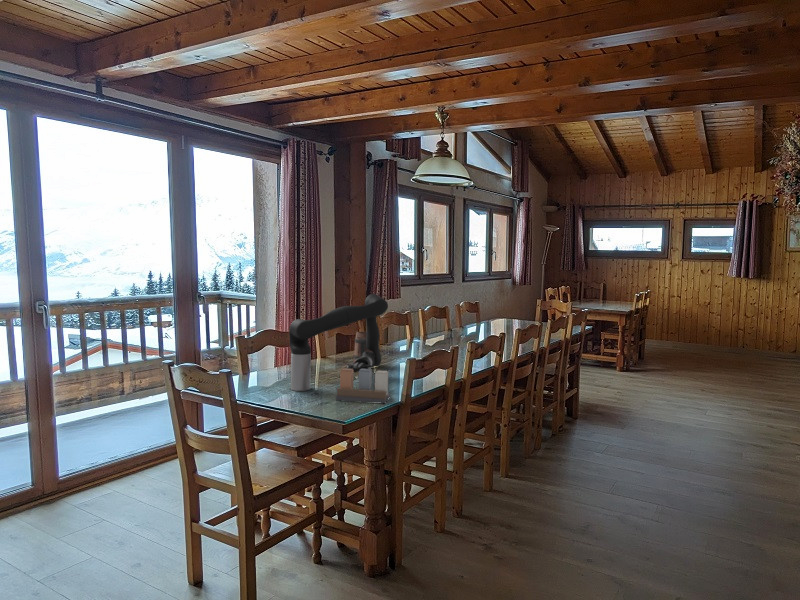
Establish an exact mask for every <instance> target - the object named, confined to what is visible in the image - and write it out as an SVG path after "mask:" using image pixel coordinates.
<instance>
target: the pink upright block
mask: <svg viewBox="0 0 800 600" xmlns="http://www.w3.org/2000/svg"><path fill="white" fill-rule="evenodd" d="M354 375H355V373H354V370H353V369H347V367H344V368H342V369H340V376H339V377H340V379H339V381H340V382H339V388H349V389H354Z"/></svg>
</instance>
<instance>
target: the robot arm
mask: <svg viewBox="0 0 800 600" xmlns="http://www.w3.org/2000/svg"><path fill="white" fill-rule="evenodd" d="M388 309H389V303H388V301H386V300H385V299H384V298H383V297H381V296H380V295H378V294H377V293H376V294H375V293H370V294H369V295H367V297H365V300H364V305H345V306H340V307H337V308H335V309H331V310H330V311H328V312H327V313H325V314H324V315H322V316H320V317H316V318H313V319H312V318H311V319H302V318H297V319H294V320H293V321H292V322H291V323H290V325H289V334H288V335H289V347H290V357H291V358H290V390H291V391H296V392H304V391H309V390H311V374H312V373H311V371H312V370H311V369H312V364H311V363H312V360H311V359H312V357H311V356H312V355H311V354H312V348H311V346H310V344H309V339H312V338H313V337H315V336H318V335H320V334H323V333H325V332H327V331H332V330H334V329H338V328H342V327H344V326H348V325H350V324H353V323H356V322H359V321H363V320H366V321H365V323H366V332H367V334H366V348H367V349H369V350H371V351H372V352H369V351H365V352H364V353H363V354H362V357H360V358H358V359H357V360H356V361H355V363H353V364H352V363H346V368H347V369H353V370H354V374H355V373H359V370H360V369H371V367H372V366H380V364H381V363H382V355H381V351H380V350H381V349H380V336H381V335H380V334H381V333H380V328H379V326H378V321H377V320H378V319H377V317H379V316H381V315H383V314H384V313H386V311H388ZM351 364H352V365H351ZM371 370H372V369H371Z"/></svg>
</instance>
